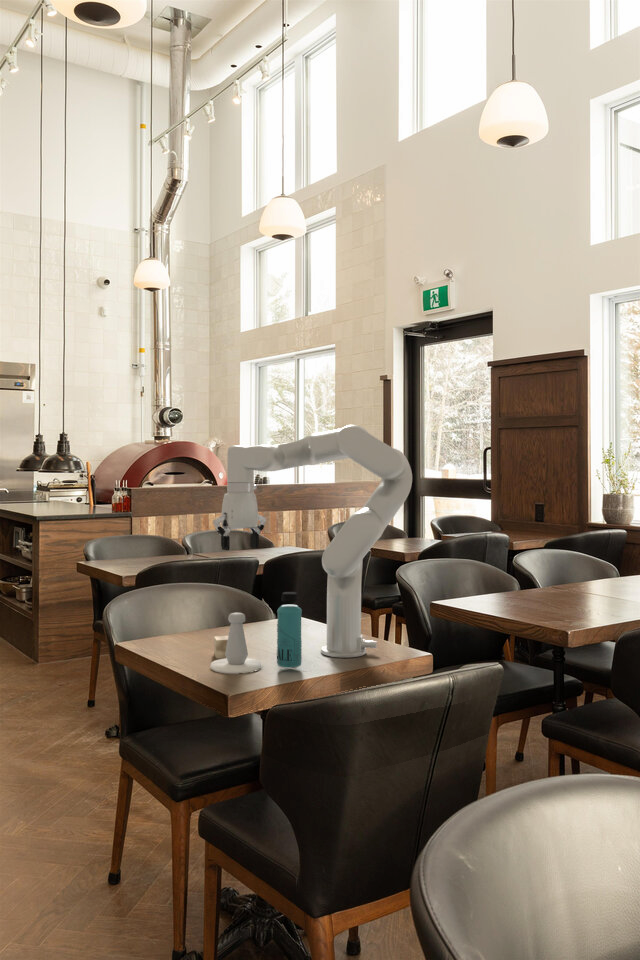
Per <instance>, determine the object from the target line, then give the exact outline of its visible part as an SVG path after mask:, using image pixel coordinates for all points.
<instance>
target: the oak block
mask: <svg viewBox="0 0 640 960" xmlns="http://www.w3.org/2000/svg"><path fill="white" fill-rule="evenodd" d="M228 636H229V635H216V636H215V635H214V637H213V638H214V640H213V641H214V642H213V644H214V648H213V649H214V651H213V654H214V657H215V659H224V658H226V656H225V652H226V647H227V641H228Z"/></svg>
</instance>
